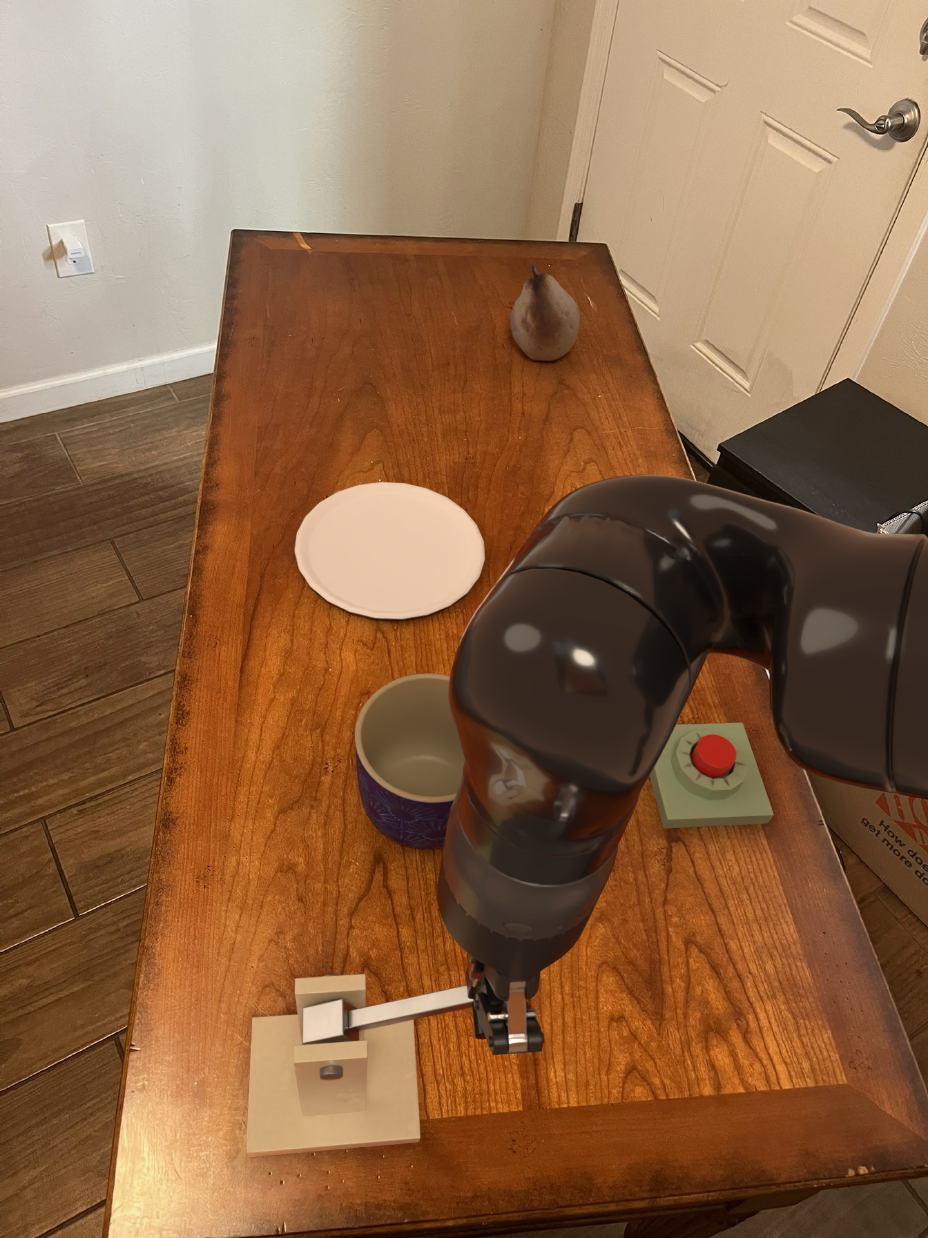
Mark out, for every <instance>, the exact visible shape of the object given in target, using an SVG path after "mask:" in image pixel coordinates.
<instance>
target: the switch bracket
mask: <svg viewBox="0 0 928 1238" xmlns="http://www.w3.org/2000/svg"><path fill="white" fill-rule="evenodd" d="M366 980H367V979H366V974H365V973H359V974H343V975H342V974H341V975H339V974H336V973H335V974H334V973H330V974H325V975H322V976H313V977H312V976H310V977H297V978H295V979H294V997H295V1006H296V1013H297V1014H296V1013H295V1014H284V1015H283V1014H281V1015H268V1016H253V1017H252V1019H251V1034H250V1035H251V1036H250V1059H249V1063H250V1064H249V1078H248V1079H249V1080H248V1099H247V1122H246V1123H247V1124H246V1125H247V1126H246V1145H245V1154H246V1156H247V1157H248V1158H253V1157H254V1158H255V1157H256V1158H257V1157H266V1156H277V1155H278V1156H279V1155H287V1154H288V1155H291V1154H299V1153H300V1154H301V1153H313V1152H322V1151H324V1152H325V1151H334V1150H335V1151H336V1150H346V1149H357V1148H369V1147H379V1146H380V1147H381V1146H390V1145H402V1144H404V1145H405V1144H413V1143H420V1141H421V1123H420V1104H419V1089H418V1087H419V1086H418V1072H417V1071H418V1070H417V1069H418V1068H417V1054H416V1053H417V1051H416V1037H415V1035H416V1034H415V1020H410V1021H406V1022H401V1023H396V1024H392V1025H387V1026H382V1027H378V1028H373V1029H368V1030H363V1031H359V1041H350V1042H336V1043H322V1044H308V1045H304V1044H303V1043H302V1041H303V1008H304V1007H308V1006H313V1005H317V1004H322V1003H326V1002H331V1001H335V1000H340V999H344V1000H345V1001H347V1002H348V1003H350V1004H352V1005H353V1006H355V1007H356V1008H358V1009H359V1008H363V1007H366V1001H367V999H366V996H367V995H366V994H367V993H366V992H367V983H366V982H367V981H366Z"/></svg>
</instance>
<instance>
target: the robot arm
mask: <svg viewBox="0 0 928 1238" xmlns="http://www.w3.org/2000/svg"><path fill="white" fill-rule="evenodd" d="M709 655H725V656H731V657H735V658H738V659H741V660H744V661H746V662H749V663H751V664H752V665H753V664H754V665H756V666H758V667H760V668H762V669H764V670H766V671H769V676H768V678H769V679H768V687H769V709H770V715H771V716H770V717H771V722H772V726H773V730H774V733H775V737H776V738H777V741H778V743H779V746H780V747H781V749H782V751H783V752H784V753H785V755H786V756H787V757H788V759H789V760H791V761H792V762H793V763H794V764H795V765H796V766H797V767H799V768H800V769H802V770H804V771H806V772H808V773H809V774H812V775H814V776H817V777H820V778H823V779H826V780H830V781H834V782H837V783H840V784H845V785H848V786H853V787H857V788H862V789H867V790H874V791H878V792H884V793H889V794H894V793H895V792H896V793H897V794H898V795H899V796H906V797H910V798H916V799H920V800H921V799H922V800H926V801H928V536H927V535H926V534H925V533H879V532H878V533H877V532H871V531H868V530H867V531H866V530H863V529H859V528H856V527H852V526H849V525H846V524H843V523H840V522H838V521H835V520H832V519H829V518H826V517H824V516H821V515H819V514H818V515H817V514H816V513H812V512H809V511H805V510H803V509H799V508H797V507H794V506H790V505H786V504H783V503H778V502H774V501H770V500H766V499H762V498H760V497H757V496H753V495H748V494H745V493H742V492H738V491H734V490H732V489H727V488H723V487H720V486H717V485H714V484H711V483H710V484H709V483H705V482H702V481H698V480H694V479H689V478H685V477H680V476H674V475H673V476H672V475H665V474H630V475H621V476H615V477H614V476H613V477H609V478H605V479H604V478H603V479H601V480H597V481H593V482H591V483H588V484H585V485H582V486H580V487H578V488H575V489H573V490H572V491H570V492H568V493H567V494H565V495H564V496H562V497H560V498H559V500H557V501H556V503H554V504H553V505H552V506H551V507H550V508H549V509H548V510H547V512H545V514H544V515H543V516H542V518H541V519H540V520H539V522H538V523H537V524H536V526H535V528H534V529H533V530H532V532H531V533H530V534H529V536H528V537H527V538H526V540H525V542H524V543H523V544H522V546H521V548H520V549H519V550H518V551H517V553H516V554H515V556H514V557H513V559H512V560H511V561H510V563H509V564H508V566H507V567H506V568H505V570H504V571H503V572H502V574H501V575H500V576H499V578H498V579H497V581H496V582H495V584H494V585H493V587H492V588H491V589H490V590H489V592H488V593H487V595H486V596H485V598H484V599H483V600H482V601H481V603H480V604H479V605H478V606H477V609H475V611H474V613H473V615H472V617H471V618H470V620H469V621H468V624H467V625H466V627H465V629H464V631H463V634H462V636H461V638H460V640H459V643H458V646H457V648H456V652H455V655H454V658H453V662H452V665H451V669H450V674H449V676H450V679H449V686H448V701H449V706H450V711H451V714H452V718H453V722H454V725H455V728H456V732H457V735H458V738H459V742H460V746H461V749H462V752H463V755H464V758H465V760H464V766H463V772H462V778H461V783H460V788H459V790H458V792H457V794H456V796H455V799H454V801H453V804H452V807H451V810H450V813H449V817H448V823H447V828H446V834H445V841H444V846H443V847H442V853H441V860H440V864H439V871H438V876H437V883H436V901H437V906H438V911H439V914H440V917H441V920H442V923H443V925H444V927H445V929H446V931H447V932H448V934H449V935H450V937H451V938H452V939H453V941H454V942H455V944H457V945H458V946H459V947H460V948H461V949H462V950H463V951H464V952H465V953H466V959H467V958H468V961H467V965H466V969H465V981H466V985H467V994H468V998H469V999H475V1000H474V1008H475V1010H477V1015H478V1018H479V1021H480V1024H481V1026H482V1029H483V1032H484V1034H485V1037H486V1039H485V1040H486V1042H487V1045H488V1048H489V1051H490V1053H491V1055H492V1056H503V1055H512V1054H513V1055H514V1054H515V1055H516V1054H527V1053H540V1052H543V1049H544V1044H545V1034H544V1032H543V1030H542V1027H541V1025H540V1023H539V1021H538V1019H537V1009H536V1008H535V1007H534V1008H531V1006H530V1004H529V1002H528V1001H527V1000H530V999H533V998H534V997H535V996H536V995H537V993H538V991H539V987H540V980H541V979H540V978H541V972H542V971H543V970H545V969H546V968H548V967H550V966H551V965H553V964H555V963H556V962H557V961H559V960H560V959H561V958H563V957H564V956H565V955H566V954H568V953H569V952H570V951H571V949H572V948H574V946H575V945H576V944H577V943H578V941H579V940H580V938H581V936H582V934H583V933H584V930H585V928H586V927H587V924H588V922H589V921H590V918H591V916H592V914H593V912H594V910H595V907H596V906H597V903H598V902H599V899H600V897H601V895H602V893H603V891H604V889H605V887H606V885H607V883H608V881H609V880H610V876H611V874H612V872H613V869H614V867H615V864H616V860H617V856H618V852H619V845H620V843H621V840H622V838H623V836H624V834H625V832H626V830H627V827H628V826H629V823H630V821H631V819H632V817H633V815H634V812H635V808H636V807H637V804H638V802H639V799H640V797H641V794H642V790H643V788H644V787H645V785H646V784H647V782H648V780H649V779H650V774H651V773H652V771H653V769H654V767H655V765H656V764H657V762H658V760H659V758H660V756H661V754H662V752H663V750H664V748H665V746H666V744H667V742H668V740H669V738H670V736H671V734H672V732H673V730H674V728H675V726H676V725H678V722H679V719H680V717H681V715H682V713H683V711H684V709H685V707H686V705H687V702H688V700H689V698H690V695H691V694H692V691H693V689H694V688H695V684H696V683H697V680H698V678H699V677H700V674H701V671H702V669H703V667H704V665H705V662H706V660H707V658H708V656H709Z"/></svg>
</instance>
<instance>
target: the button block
mask: <svg viewBox="0 0 928 1238" xmlns="http://www.w3.org/2000/svg"><path fill="white" fill-rule="evenodd" d="M710 734H715V735H719V736H722V737H724V738H726V739H727V740H729V741H730V742H731V743H732V745H733V746H734V748H735V750H736V760H735V762H734V764H733V765H732V767H731V769H730V770H729V772H728V773H727V774H726V775H724V776H722V777H718V778H713V777H709V776H706V775H704V774H702V773H701V772H700V771H699V770H698V769H697V768H696V767H695V765H694V763H693V760H692V754H693V751H694V749H695V747H696V745H697V743H698V741H699V740H700V739H701V738H702V737H704V736H706V735H710ZM750 743H751V742H750V740H749V737H748V734H747V731H746V727H745V725H744V723H743V722H719V723H716V722H715V723H713V722H712V723H684V724H676V726H675V728H674V730H673V732H672V734H671V736H670V738H669V740H668V742H667V744H666V746H665V748H664V750H663V752H662V754H661V756H660V758H659V760H658V762H657V764H656V765H655V767H654V769H653V771H652V773H651V774H650V776H649V779H650V782H651V786H652V790H653V795H654V799H655V802H656V807H657V811H658V814H659V815H658V816H659V820H660V822H661V827H662V829H680V828H681V829H682V828H702V827H723V826H724V827H725V826H741V825H742V826H745V825H746V826H747V825H748V826H749V825H768V824H769V822H770V821H771V820H772V818H773V817H774V816H775V814H774V811H773V809H772V805H771V801H770V799H769V797H768V794H767V790H766V788H765V785H764V781H763V777H762V775H761V772H760V770H759V767H758V764H757V761H756V758H755V755H754V751H753V749H752V746H751V744H750Z"/></svg>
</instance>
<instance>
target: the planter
mask: <svg viewBox="0 0 928 1238" xmlns="http://www.w3.org/2000/svg"><path fill="white" fill-rule="evenodd" d="M449 679H450V675H447V674H443V673H442V674H441V673H416V674H415V673H414V674H410V675H406V676H402V677H399V678H397V679H393V680H392V681H390V682H388V683H386V684H384V685H383V686H381V687H379V689H377V690H376V691H375V692H374V693H373V694H372V695H371V696H370V697H369V698H368V699H367V701H366V702H365V703H364V704H363V706H362V708H361V710H360V712H359V714H358V717H357V719H356V723H355V729H354V748H355V750H354V751H355V764H356V765H355V766H356V767H355V768H356V777H357V779H356V780H357V787H358V791H359V792H358V793H359V796H360V800H361V804H362V806H363V809H364V811H365V813H366V815H367V817H368V818H369V820H370V822H371V823H372V825H373V826H374V827H375V828H376V829H377V830H378V831H379V832H380V833H381V834H382V835H383V836H385V837H386V838H388V839H389V840H391V841H392V842H394V843H396V844H399V845H401V846H403V847H407V848H411V849H416V850H436V849H440V848H443V846H444V841H445V834H446V828H447V823H448V817H449V813H450V810H451V807H452V804H453V801H454V799H455V796H456V794H457V792H458V790H459V788H460V783H461V778H462V772H463V766H464V760H465V758H464V755H463V752H462V749H461V746H460V742H459V738H458V735H457V732H456V728H455V725H454V722H453V718H452V714H451V711H450V706H449V701H448V686H449Z"/></svg>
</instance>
